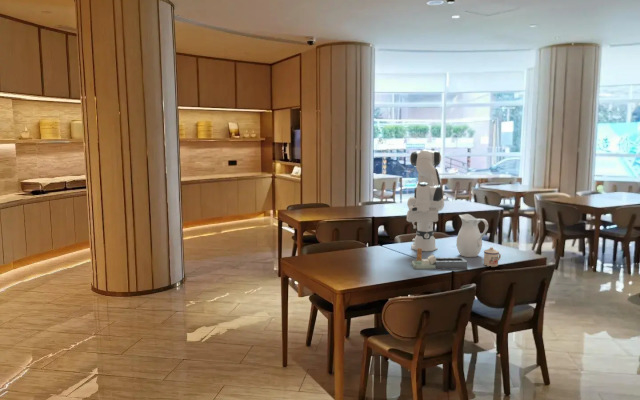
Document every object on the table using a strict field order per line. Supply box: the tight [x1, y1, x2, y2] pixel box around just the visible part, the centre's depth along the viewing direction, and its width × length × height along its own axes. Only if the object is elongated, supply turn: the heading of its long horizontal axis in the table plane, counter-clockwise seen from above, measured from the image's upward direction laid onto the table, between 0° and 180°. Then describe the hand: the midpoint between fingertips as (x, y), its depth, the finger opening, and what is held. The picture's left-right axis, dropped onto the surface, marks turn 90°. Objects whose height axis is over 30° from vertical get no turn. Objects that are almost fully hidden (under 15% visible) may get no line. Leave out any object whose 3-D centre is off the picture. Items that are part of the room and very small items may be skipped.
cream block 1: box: [422, 258, 430, 265], centre depth 319 cm, size 4×4×4 cm
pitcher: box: [456, 213, 489, 258], centre depth 344 cm, size 24×17×28 cm
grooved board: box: [432, 256, 468, 270], centre depth 320 cm, size 10×20×4 cm, turn 91°
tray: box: [411, 260, 436, 270], centre depth 320 cm, size 10×13×2 cm
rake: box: [415, 248, 423, 261], centre depth 329 cm, size 5×3×10 cm, turn 1°
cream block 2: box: [426, 254, 437, 264], centre depth 319 cm, size 4×4×4 cm
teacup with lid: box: [483, 246, 501, 268], centre depth 323 cm, size 12×9×12 cm
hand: (422, 228), depth 329 cm, fingers open, 8 cm apart
